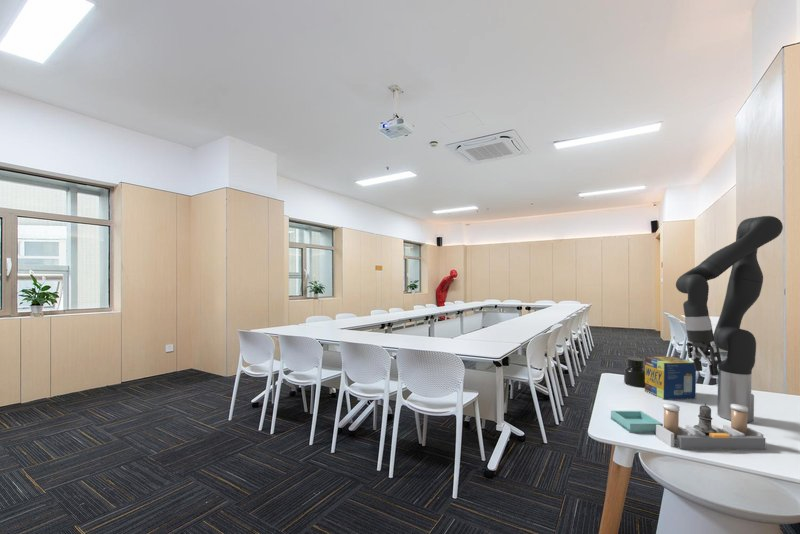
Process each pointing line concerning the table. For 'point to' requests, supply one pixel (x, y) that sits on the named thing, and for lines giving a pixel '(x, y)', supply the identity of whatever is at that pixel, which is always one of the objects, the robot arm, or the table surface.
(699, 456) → the table surface
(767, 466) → the table surface
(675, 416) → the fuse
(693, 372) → the protein box
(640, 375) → the ink bottle
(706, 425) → the salt shaker
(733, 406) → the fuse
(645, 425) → the tray
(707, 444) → the fuse rail
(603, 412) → the table surface
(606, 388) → the table surface
